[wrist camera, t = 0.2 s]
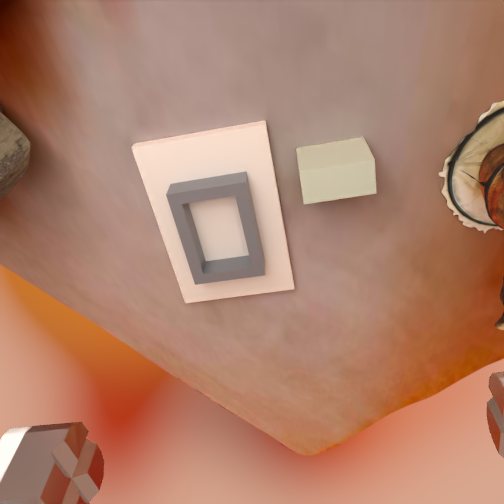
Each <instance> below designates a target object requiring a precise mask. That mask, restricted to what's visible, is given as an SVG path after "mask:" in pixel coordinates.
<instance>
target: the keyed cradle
mask: <svg viewBox="0 0 504 504" xmlns="http://www.w3.org/2000/svg"><path fill="white" fill-rule="evenodd" d="M132 151H133V154H134V157H135V160H136V163H137V165H138V168H139V171H140V174H141V177H142V180H143V183H144V186H145V189H146V191H147V194H148V197H149V200H150V203H151V206H152V209H153V212H154V214H155V217H156V220H157V223H158V226H159V229H160V232H161V235H162V238H163V240H164V243H165V246H166V249H167V252H168V255H169V258H170V261H171V264H172V266H173V269H174V272H175V275H176V278H177V281H178V284H179V287H180V289H181V292H182V295H183V298H184V301H185V303H192V302H199V301H207V300H215V299H223V298H230V297H238V296H246V295H254V294H261V293H269V292H277V291H284V290H292V289H294V279H293V274H292V268H291V262H290V257H289V251H288V245H287V239H286V234H285V228H284V222H283V217H282V211H281V205H280V200H279V194H278V188H277V182H276V177H275V171H274V165H273V160H272V154H271V148H270V142H269V137H268V131H267V125H266V120H264V121H258V122H252V123H247V124H241V125H235V126H230V127H224V128H219V129H213V130H207V131H202V132H196V133H190V134H185V135H179V136H174V137H168V138H162V139H157V140H151V141H145V142H140V143H134V145H133V146H132Z"/></svg>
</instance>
